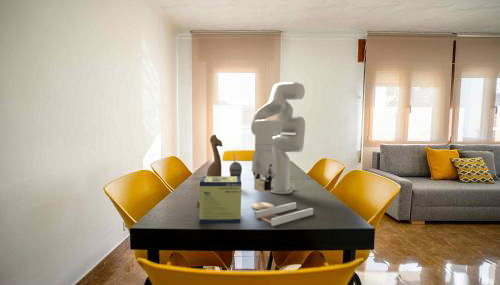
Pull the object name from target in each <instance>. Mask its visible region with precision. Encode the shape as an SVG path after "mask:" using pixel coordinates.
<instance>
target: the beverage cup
mask: <svg viewBox="0 0 500 285" xmlns="http://www.w3.org/2000/svg"><path fill="white" fill-rule="evenodd" d="M228 170H229V174H230V175H229V177H232V176H240V179H241V178H242V177H241V176H242V171H243V168H242V165H241V163H240V162H237V161H236V156H235V154H233V162H231V164H229V169H228Z"/></svg>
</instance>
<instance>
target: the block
mask: <svg viewBox="0 0 500 285" xmlns="http://www.w3.org/2000/svg"><path fill="white" fill-rule="evenodd" d="M265 181H266V180H265V177H260V179H255V178H254V186H253V188H254V190H255V191H258V192H261V193H266V192H270V191H273V190H274V180H272V181H271V190H268V191H265V190H264V189H265Z"/></svg>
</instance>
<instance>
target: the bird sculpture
mask: <svg viewBox="0 0 500 285" xmlns="http://www.w3.org/2000/svg"><path fill="white" fill-rule="evenodd" d="M209 142H210V145H211V148H212V154H213V161H212V162H211V164H209V166H208V167H207V170H206V171H207V172H206V176H208V177H222V159H221V156H220V152H219V150H218V147H223V142H222V140H221V139H219V138H218V137H217V135H216V134H213V135H212V136H210V138H209ZM196 205H197V207H199V200H197V201H196Z"/></svg>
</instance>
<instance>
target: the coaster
mask: <svg viewBox="0 0 500 285" xmlns="http://www.w3.org/2000/svg"><path fill="white" fill-rule="evenodd" d="M250 206H251V207H250V208H252V209H253V210H255V211H259V210H264V209H268V208H272V207H275V205H274V204H272V203H270V202H265V201H264V202H262V201H261V202H254V203H252V204H251V205H250Z"/></svg>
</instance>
